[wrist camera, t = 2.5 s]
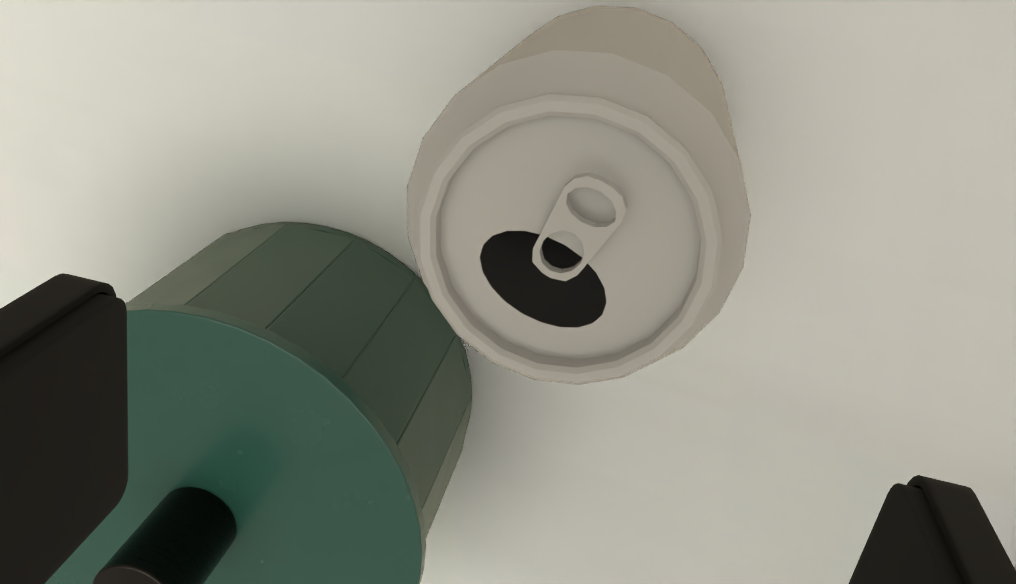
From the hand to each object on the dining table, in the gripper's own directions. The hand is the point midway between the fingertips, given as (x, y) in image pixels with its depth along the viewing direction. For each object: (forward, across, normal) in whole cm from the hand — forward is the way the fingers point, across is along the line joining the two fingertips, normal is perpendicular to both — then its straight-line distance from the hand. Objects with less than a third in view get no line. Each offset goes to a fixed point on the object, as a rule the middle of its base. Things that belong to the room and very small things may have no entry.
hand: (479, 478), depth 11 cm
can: (+20, 0, 0) cm, 20 cm away
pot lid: (+11, +9, +12) cm, 19 cm away
